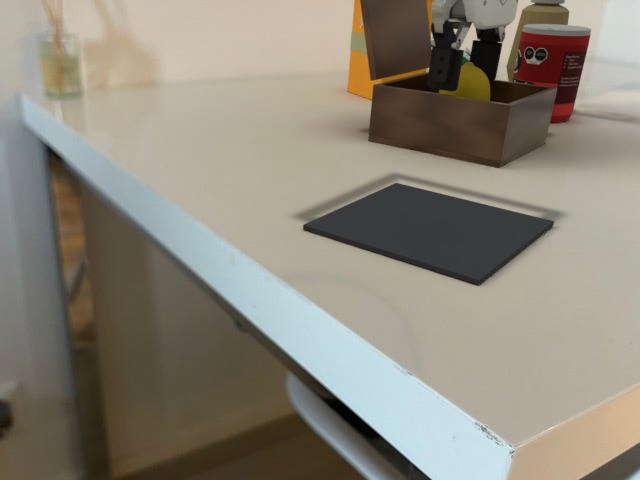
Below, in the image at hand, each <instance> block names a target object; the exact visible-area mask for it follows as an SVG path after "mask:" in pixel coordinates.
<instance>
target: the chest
mask: <svg viewBox="0 0 640 480" xmlns="http://www.w3.org/2000/svg"><path fill="white" fill-rule="evenodd" d="M428 73H429V71H426V72H425V73H421V74H416V75H412V76H408V77H404V78H400V79H396V80H391V81H387V82H383V83H379V84H375V85H373V94H372V100H371V105H370V106H371V108H370V118H369V126H368V138H367V141H368V142H373V143H378V144H382V145H386V146H387V145H388V146H392V147H398V148H404V149H407V150H412V151H415V152H422V153H427V154H431V155H435V156H440V157H445V158H450V159H455V160H460V161H465V162H470V163H475V164H479V165H484V166H489V167H492V168H493V167H494V168H498V169H500V168H502V167H503V166H505V165H507V164H509V163H511V162H513V161H515V160H516V159H518V158H520V157H522V156H524V155H526V154H528V153H529V152H532V151H534V150H536V149H537V148H539V147H541V146H543V145H545V144H546V143H547V138H548V134H549V130H550V129H549V128H550V125H551V122H550V120H551V116H552V111H553V107H554V102H555V97H556V93H557V88H556V87H549V86H541V85H533V84H526V83H518V82H510V81H508V80H501V79H495V80H492V81H489V84H490V101H485V100H479V99H472V98H466V97H459V96H452V95H446V94H439V89H433V88H429V87H428V86H427V80H428Z"/></svg>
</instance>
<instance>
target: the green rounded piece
mask: <svg viewBox="0 0 640 480" xmlns="http://www.w3.org/2000/svg"><path fill="white" fill-rule="evenodd" d="M463 50H464V53H463V59H462V65H461V66H463V65H464V64H465V63H466V62H469V61H470V55H471V49H470V48H469V47H468V46H466V47H465V48H464V49H463Z"/></svg>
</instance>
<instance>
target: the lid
mask: <svg viewBox="0 0 640 480" xmlns="http://www.w3.org/2000/svg"><path fill="white" fill-rule="evenodd" d="M360 3H361V11H362V18H363V26H364V34H365V41H366V49H367V56H368V64H369V71H370V79H371V81H373V80H378V79H382V78H387V77H391V76H395V75H400V74H404V73H408V72H412V71H417V70H421V69H425V68H427V69H429V66H430V59H431V53H432V47H431V39H432V37H431V38H430V28H429V19H428V9H427V0H360Z"/></svg>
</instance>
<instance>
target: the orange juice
mask: <svg viewBox="0 0 640 480" xmlns="http://www.w3.org/2000/svg"><path fill="white" fill-rule="evenodd" d="M433 1H434V0H427V9H428V19H429V28H430V38H431V39H432V32H431V24H432V10H431V6H432V3H433ZM349 50H350V51H349V52H350V53H349V65H348V78H347V90H346V91H347V92H348V93H350V94H353V95H356V96H359V97H362V98H365V99H367V100H370V101H372V94H373V85H375V84H379V83H383V82H387V81H391V80H396V79H400V78H404V77H408V76H412V75H416V74H421V73H425V72H427V71H428V70H427V69H428V68H425V69H421V70H417V71H412V72H408V73H404V74H400V75H395V76H391V77H387V78H382V79H378V80H373V81H371V79H370V71H369V64H368V56H367V49H366V41H365V34H364V26H363V18H362V11H361V3H360V0H354V2H353V14H352V28H351V35H350V48H349Z"/></svg>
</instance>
